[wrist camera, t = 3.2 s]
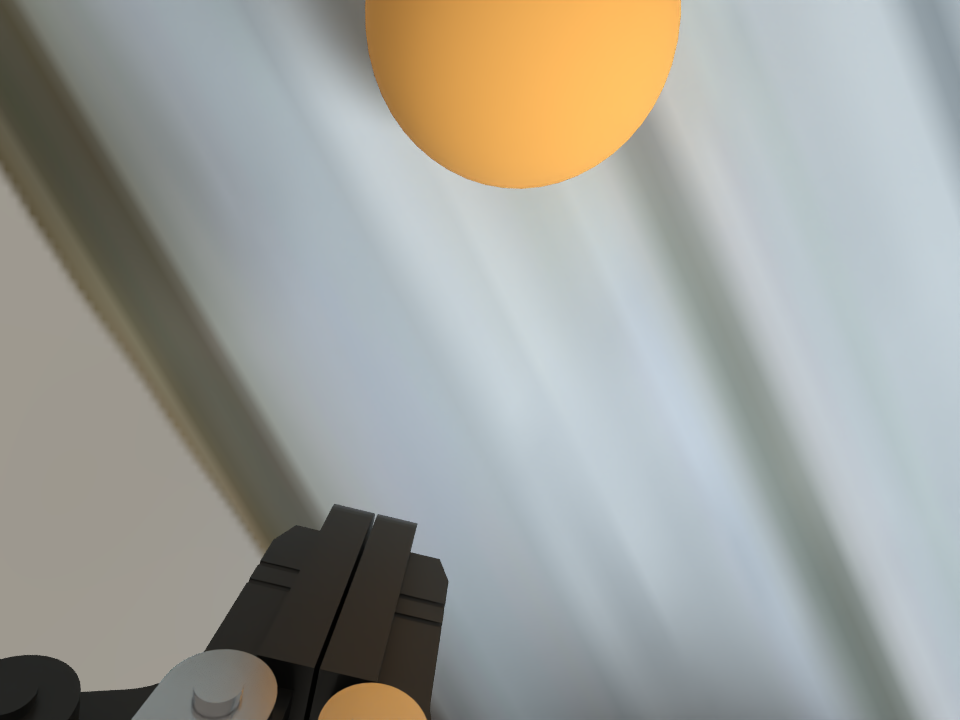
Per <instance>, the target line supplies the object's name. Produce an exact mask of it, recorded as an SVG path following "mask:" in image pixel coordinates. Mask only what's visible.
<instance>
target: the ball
mask: <svg viewBox="0 0 960 720" xmlns="http://www.w3.org/2000/svg"><path fill="white" fill-rule="evenodd" d="M680 18H681V0H366V3H365V27H366V36H367V44H368V51H369V56H370V60H371V64H372V68H373V72H374V76H375V78H376V81H377V84H378V86H379V89H380V92H381V94H382V96H383V98H384V100H385V102H386V104H387V106H388V108H389V110H390V112H391V114H392V115H393V117H394V118H395V120H396V121H397V122H398V124H399V125H400V127H401V128H402V130H403V131H404V132H405V133H406V134H407V136H408V137H409V138H410V139H411V140H412V141H413V142H414V143H415V144H416V146H417V147H419V148H420V149H421V150H422V151H423V152H424V153H426V154H427V155H428V156H429V157H430V158H431V159H433V160H434V161H436V162H437V163H439V164H440V165H442V166H443V167H445V168H446V169H448V170H450V171H452V172H454V173H456V174H458V175H460V176H462V177H464V178H466V179H469V180H472V181H475V182H478V183H482V184H485V185H490V186H496V187H501V188H519V189H523V188H534V187H542V186H546V185H551V184H555V183H559V182H562V181H565V180H567V179H570V178H573V177H575V176H578V175H579V174H581V173H583V172H585V171H587V170H589V169H591V168H593V167H595V166H596V165H598V164H599V163H601V162H602V161H603V160H605V159H606V158H608V157H609V156H610V155H612V154H613V153H614V152H615V151H616V150H617V149H619V148H620V147H621V146H622V145H623V144H624V143H625V142H626V141H627V140H628V139H629V138H630V137H631V136H632V135H633V134H634V132H635V131H636V130H637V129H638V128H639V127H640V125H641V124H642V123H643V121H644V120H645V118H646V117H647V115H648V114H649V112H650V111H651V109H652V108H653V106H654V105H655V103H656V101H657V99H658V97H659V95H660V93H661V91H662V89H663V87H664V85H665V82H666V79H667V77H668V74H669V71H670V69H671V66H672V62H673V58H674V54H675V50H676V46H677V41H678V34H679V26H680Z"/></svg>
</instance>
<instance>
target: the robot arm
mask: <svg viewBox="0 0 960 720" xmlns="http://www.w3.org/2000/svg"><path fill="white" fill-rule="evenodd" d="M374 517H375V514H374V513H370V512H366V511H362V510H358V509H354V508H350V507H345V506H341V505H337V504H334V505H333V507H332V509H331V511H330V513H329V515H328V517H327V518H326V520H325V522H324V524H323V526H322V528H321V530H320V531H318V530H314V529H310V528H306V527H302V526H297V525H296V526H294V527H293V528H291V529H290V530H288V531H286V532H285V533H283V534H282V535H280V536H279V537H277V538H276V539H274V540H273V541H272V543H271V545H270V546H269V548H268V549H267V551H266V553H265V554H264V556H263V558H262V559H261V561H260V564H259V565H258V566H257V567H256V569H255V570H254V572H253V574H252V575H251V577H250V580H249V582H248V583H246V585H245V587H244V588H243V590H242V591H241V593H240V595H239V596H238V598H237V600H236V601H235V603H234V604H233V606H232V608H231V609H230V611H229V612H228V614H227V616H226V617H225V619H224V621H223V622H222V624H221V626H220V627H219V629H218V630H217V632H216V633H215V635H214V637H213V638H212V640H211V641H210V643H209V645H208V646H207V648H206V650H205V651H204V652H203V653H199V654H196V655H194V656H192V657H190V658H187V659H186V660H184V661H182V662H181V663H179V664H178V665H176V666H175V667H174V668H173V669H171V670H170V672H169V673H168V674H167V675H166V676H165V677H164V678H163V680H162V681H161V682H160V683H158V684H155V685H152V686H147V687H143V688H138V689H137V688H136V689H128V690H110V691H92V692H81V688H80V681H79V678H78V676H77V674H76V673H75V671H74V670H73V669H72V668H71V667H70V666H69V665H67V664H66V663H64V662H62V661H60V660H58V659H55V658H51V657H47V656H40V655H39V656H38V655H23V656H14V657H9V658H4V659H0V720H431V714H430V702H431V695H432V688H433V681H434V675H435V668H436V661H437V655H438V648H439V641H440V635H441V626H442V621H443V614H444V606H445V601H446V594H447V588H448V579H447V577H446V574H445V572H444V569H443V567H442V564H441V562H440V559H436V558H432V557H428V556H424V555H420V554H415V553H411V548H412V544H413V539H414V535H415V531H416V527H417V523H413V522H409V521H404V520H400V519H396V518H392V517H388V516H384V515H379V514H378V515H377V517H376V520H375V522H374ZM373 523H374V525H373Z"/></svg>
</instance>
